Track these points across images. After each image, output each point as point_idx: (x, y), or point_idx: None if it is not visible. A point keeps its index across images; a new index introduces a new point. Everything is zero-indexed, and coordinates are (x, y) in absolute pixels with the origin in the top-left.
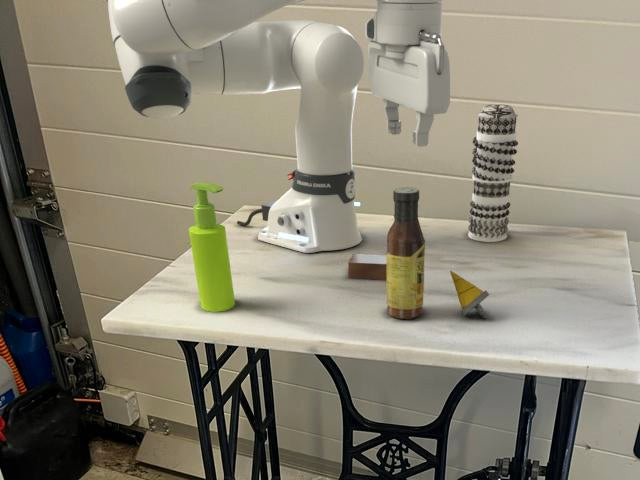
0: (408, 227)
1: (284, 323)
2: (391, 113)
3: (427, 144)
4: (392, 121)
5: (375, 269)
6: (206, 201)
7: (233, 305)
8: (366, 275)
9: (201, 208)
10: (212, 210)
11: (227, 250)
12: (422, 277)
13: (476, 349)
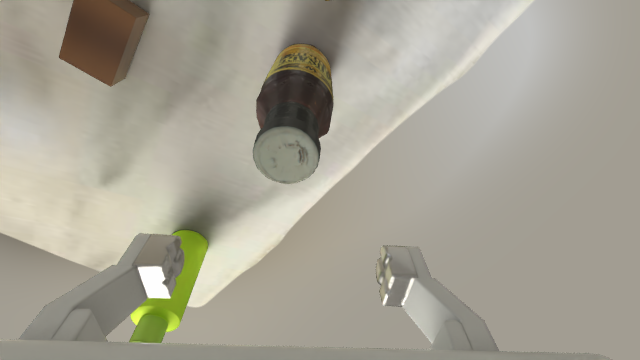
0: (320, 131)
1: (265, 206)
2: (116, 308)
3: (418, 247)
4: (161, 291)
5: (132, 42)
6: None
7: (198, 234)
8: (131, 53)
9: None
10: (154, 339)
11: None
12: (326, 69)
13: (463, 42)
